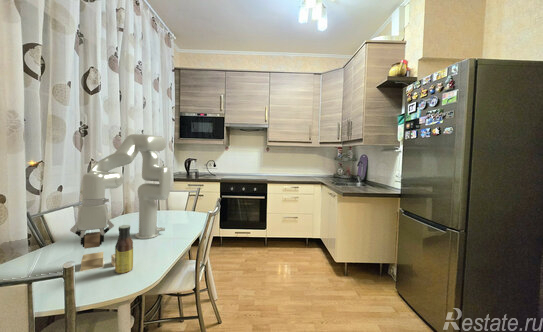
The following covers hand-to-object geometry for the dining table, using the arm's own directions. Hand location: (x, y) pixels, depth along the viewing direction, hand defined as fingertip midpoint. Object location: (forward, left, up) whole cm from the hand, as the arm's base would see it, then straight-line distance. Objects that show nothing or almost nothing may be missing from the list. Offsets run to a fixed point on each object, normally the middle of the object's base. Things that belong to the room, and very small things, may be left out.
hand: (92, 244), depth 98 cm
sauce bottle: (-11, +11, -11) cm, 19 cm away
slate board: (-2, 0, -10) cm, 11 cm away
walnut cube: (0, 0, -1) cm, 1 cm away
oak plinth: (0, 0, -9) cm, 9 cm away
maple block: (-9, +3, -9) cm, 13 cm away
